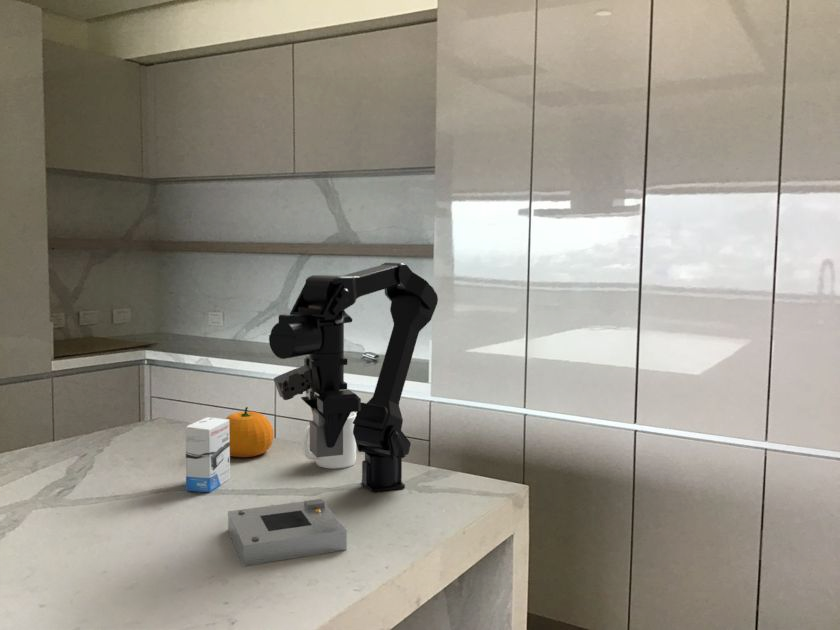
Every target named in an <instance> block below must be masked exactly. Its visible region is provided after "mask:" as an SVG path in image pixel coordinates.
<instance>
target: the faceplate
mask: <svg viewBox="0 0 840 630" xmlns="http://www.w3.org/2000/svg"><path fill="white" fill-rule="evenodd" d="M227 525H228V526H227V528H228V530H227V531H228V533H229V534H230V537H231V539H232V541H233V544H234V546H235V548H236V549H235V550H236V551H237V554H238V555H239V557H240V560H241V563H242V564H243V567H248V566H253V565H261V564H265V563H271V562H277V561H278V562H279V561H284V560H291V559H297V558H303V557H310V556H315V555H320V554H321V555H323V554H327V553H335V552H340V551H347V545H348V544H347V540H348V539H347V531H348V530H347V529H346V528H345V526H344V525H343V523H341V522H340V520H339V519H338V518H337V517H336V516H335V514H334V513H333V512H332V511H331V510H330V508H329V507H328V506H327V505H326V503H325V501H324V500H323V499H322V498H317V499H310V500H304V501H298V502H297V501H295V502H290V503H288V502H287V503H281V504H280V503H279V504H273V505H267V506H266V505H265V506H258V507H251V508H243V509H235V510H228V511H227Z"/></svg>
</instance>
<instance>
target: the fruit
mask: <svg viewBox="0 0 840 630" xmlns="http://www.w3.org/2000/svg"><path fill="white" fill-rule="evenodd" d="M248 408H249V407H248V406H246V407H245V409H244V411H239V412H238V411H237V412H235V413H231V414H230V415H228V416H227V417H226V418H225V419H229V438H230V439H229V440H230V457H235V458H251V457H256V456H257V457H258V456H260V455H261V454H264V453H266V452H267V451H268V450H269V449H270V448H271V447H272V445H273V441H274V435H275V431H274V428H273V425H272V423H271V422H270V420H269V419H268V418H267V417H265V416H264V415H263V414H262V413H260V412H257V411H248Z"/></svg>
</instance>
